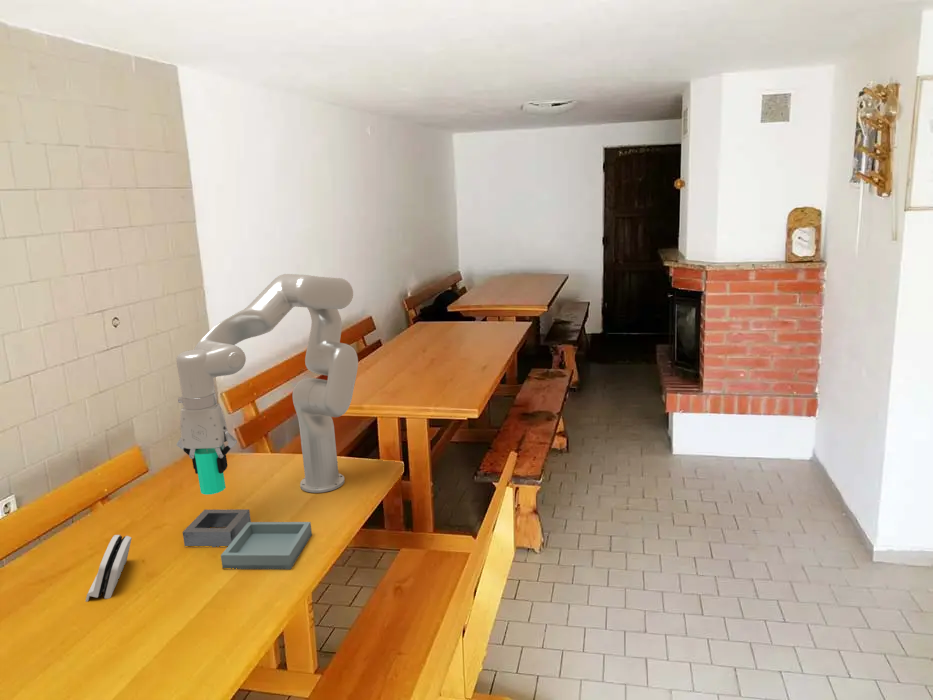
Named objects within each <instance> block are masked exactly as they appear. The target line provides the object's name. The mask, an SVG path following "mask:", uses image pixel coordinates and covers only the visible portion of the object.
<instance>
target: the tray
mask: <svg viewBox="0 0 933 700" xmlns="http://www.w3.org/2000/svg"><path fill="white" fill-rule="evenodd" d="M311 536H313V533H312V523H311V521H251V522H248V523H247V524H246V525H245V526H244V528H243V529H242V530H241V531H240V532H239V534H238V535H237V536H236V537H235V539H234V540H233V541H232V542H231V543H230V545H229V546H228V547H225V549H224V551H222V553H221V554H220V560H221V567H222V569H223V568H231V569H230V570H292V568H293V566H294V565H295V563H296V561H297V560H298V558H299V557H300V555H301V554H302V552H303V550H304V548H305V546H306V545H307V544H308V542H309V540H310V539H311ZM232 568H234V569H232ZM236 568H237V569H236Z"/></svg>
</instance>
